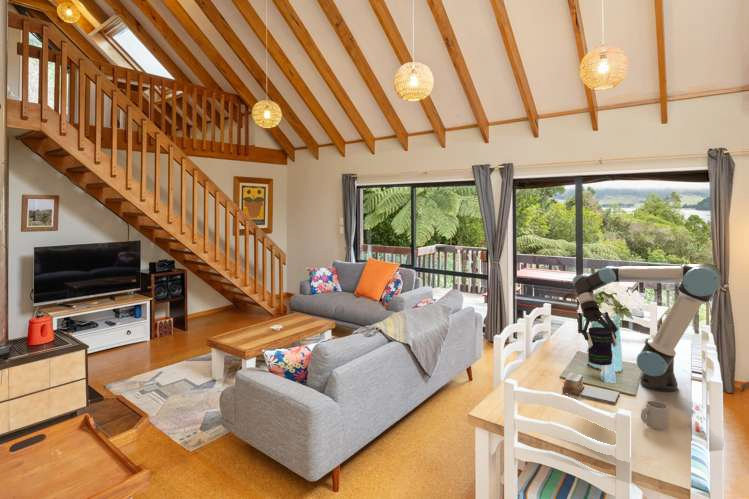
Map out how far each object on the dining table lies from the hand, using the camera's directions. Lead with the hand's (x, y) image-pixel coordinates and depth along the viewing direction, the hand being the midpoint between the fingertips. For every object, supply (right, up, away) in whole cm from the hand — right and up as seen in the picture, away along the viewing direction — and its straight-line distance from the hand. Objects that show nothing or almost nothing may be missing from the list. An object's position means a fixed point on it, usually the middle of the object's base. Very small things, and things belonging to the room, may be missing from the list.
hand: (603, 345), depth 193 cm
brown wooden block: (-8, -24, +13) cm, 28 cm away
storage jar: (+1, -8, +4) cm, 9 cm away
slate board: (+1, -24, +5) cm, 25 cm away
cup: (+8, -27, -23) cm, 36 cm away
